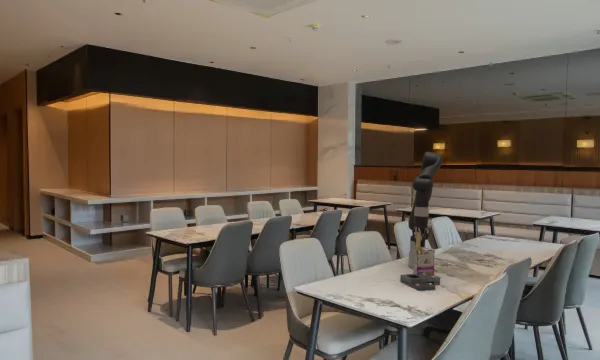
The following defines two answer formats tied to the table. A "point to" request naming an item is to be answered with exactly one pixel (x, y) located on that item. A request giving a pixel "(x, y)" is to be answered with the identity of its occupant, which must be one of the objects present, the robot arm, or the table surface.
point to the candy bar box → (424, 261)
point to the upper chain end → (421, 278)
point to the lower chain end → (419, 285)
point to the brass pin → (418, 245)
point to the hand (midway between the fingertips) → (419, 246)
